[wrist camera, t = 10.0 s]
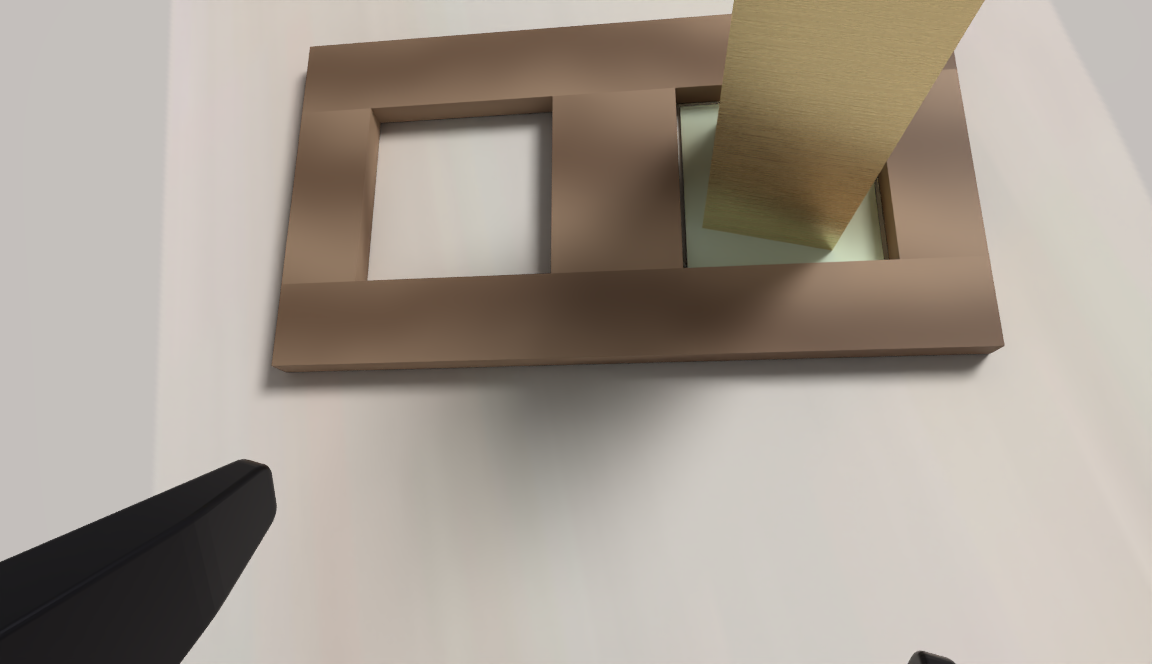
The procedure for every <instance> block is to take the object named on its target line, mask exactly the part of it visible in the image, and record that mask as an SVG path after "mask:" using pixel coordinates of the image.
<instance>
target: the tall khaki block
mask: <svg viewBox="0 0 1152 664" xmlns="http://www.w3.org/2000/svg"><path fill="white" fill-rule="evenodd" d="M983 2H984V0H734V4H733V11H732V18H731V25H730V33H729V40H728V47H727V54H726V61H725V68H724V75H723V82H722V90H721V97H720V104H719V111H718V118H717V125H716V132H715V140H714V147H713V154H712V161H711V168H710V175H709V182H708V190H707V197H706V204H705V211H704V218H703V225H702V228H705V229H711V230H717V231H723V232H728V233H734V234H740V235H746V236H752V237H757V238H763V239H769V240H775V241H781V242H786V243H792V244H798V245H804V246H810V247H815V248H821V249H827V250H833V249H834V247H835V245H836V244H837V242H838V240H839V239H840V237H841V235H842V234H843V232H844V231H845V229H846V227H847V226H848V224H849V222H850V221H851V219H852V217H853V216H854V214H855V212H856V211H857V209H858V208H859V206H860V204H861V203H862V201H863V199H864V198H865V196H866V194H867V193H868V191H869V189H870V188H871V186H872V184H873V183H874V181H875V180H876V178H877V176H878V175H879V173H880V171H881V170H882V168H883V166H884V165H885V163H886V161H887V160H888V158H889V157H890V155H891V153H892V152H893V150H894V148H895V147H896V145H897V143H898V142H899V140H900V138H901V137H902V135H903V134H904V132H905V130H906V129H907V127H908V125H909V124H910V122H911V120H912V119H913V117H914V115H915V114H916V112H917V111H918V109H919V107H920V106H921V104H922V102H923V101H924V99H925V97H926V96H927V94H928V92H929V91H930V89H931V88H932V86H933V84H934V83H935V81H936V79H937V78H938V76H939V74H940V73H941V71H942V69H943V68H944V66H945V64H946V63H947V61H948V60H949V58H950V56H951V55H952V53H953V51H954V50H955V48H956V46H957V45H958V43H959V41H960V40H961V38H962V37H963V35H964V33H965V32H966V30H967V28H968V27H969V25H970V23H971V22H972V20H973V18H974V17H975V15H976V14H977V12H978V10H979V9H980V7H981V5H982V4H983Z"/></svg>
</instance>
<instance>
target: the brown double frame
mask: <svg viewBox="0 0 1152 664" xmlns="http://www.w3.org/2000/svg"><path fill="white" fill-rule="evenodd" d="M731 18H732V14H725V15H712V16H700V17H687V18H674V19H661V20H648V21H635V22H622V23H610V24H597V25H584V26H571V27H558V28H545V29H532V30H520V31H507V32H494V33H481V34H468V35H455V36H443V37H430V38H417V39H404V40H391V41H378V42H365V43H353V44H340V45H327V46H314V47H310V52H309V61H308V69H307V77H306V85H305V94H304V102H303V110H302V118H301V127H300V135H299V143H298V152H297V160H296V168H295V176H294V185H293V193H292V201H291V209H290V218H289V226H288V234H287V242H286V251H285V259H284V267H283V275H282V284H281V292H280V300H279V308H278V317H277V325H276V333H275V342H274V350H273V358H272V366H273V367H275V368H278V369H280V370H282V371H285V372H311V371H349V370H387V369H425V368H463V367H501V366H539V365H577V364H615V363H653V362H691V361H729V360H767V359H805V358H843V357H881V356H919V355H957V354H990V353H992V352H994V351H996V350H998V349H1000V348H1001V347H1003V346H1005V345H1004V340H1003V334H1002V328H1001V322H1000V316H999V311H998V305H997V299H996V293H995V287H994V282H993V276H992V270H991V264H990V258H989V253H988V247H987V241H986V235H985V229H984V224H983V218H982V212H981V206H980V200H979V195H978V189H977V183H976V177H975V171H974V166H973V160H972V154H971V148H970V142H969V137H968V131H967V125H966V119H965V113H964V108H963V102H962V96H961V90H960V84H959V79H958V73H957V67H956V61H955V55H954V51H953V53H952V55H951V56H950V58H949V60H948V61H947V63H946V64H945V66H944V68H943V69H942V71H941V73H940V74H939V76H938V78H937V79H936V81H935V83H934V84H933V86H932V88H931V89H930V91H929V92H928V94H927V96H926V97H925V99H924V101H923V102H922V104H921V106H920V107H919V109H918V111H917V112H916V114H915V115H914V117H913V119H912V120H911V122H910V124H909V125H908V127H907V129H906V130H905V132H904V134H903V135H902V137H901V138H900V140H899V142H898V143H897V145H896V147H895V148H894V150H893V152H892V153H891V155H890V157H889V158H888V160H887V161H886V163H885V165H884V166H883V168H882V170H881V171H880V173H879V175H878V179H879V187H880V194H881V202H882V210H883V217H884V225H885V233H886V240H887V248H888V256H889V260H884V256H883V249H882V241H881V233H880V225H879V217H878V210H877V202H876V194H875V186H874V183H873V184H872V186H871V188H870V189H869V191H868V193H867V194H866V196H865V198H864V199H863V201H862V203H861V204H860V206H859V208H858V209H857V211H856V212H855V214H854V216H853V217H852V219H851V221H850V222H849V224H848V226H847V227H846V229H845V231H844V232H843V234H842V235H841V237H840V239H839V240H838V242H837V244H836V245H835V247H834V249H833V250H827V249H821V248H815V247H810V246H804V245H798V244H792V243H786V242H781V241H775V240H769V239H763V238H757V237H752V236H746V235H740V234H734V233H728V232H723V231H717V230H711V229H705V228H702V225H703V218H704V211H705V204H706V197H707V190H708V182H709V175H710V168H711V161H712V154H713V147H714V140H715V132H716V125H717V118H718V111H719V104H713V105H697V106H682V107H680V117H681V138H682V160H683V181H684V203H685V224H686V246H687V267H688V268H683V253H682V231H681V208H680V186H679V164H678V141H677V119H676V104H680V103H695V102H710V101H720V97H721V90H722V82H723V75H724V68H725V61H726V54H727V47H728V40H729V33H730V25H731ZM541 112H552V210H551V273H547V274H522V275H498V276H473V277H448V278H423V279H398V280H374V281H367V276H368V265H369V253H370V241H371V230H372V218H373V207H374V195H375V183H376V172H377V160H378V148H379V137H380V125H381V123H387V122H403V121H418V120H433V119H449V118H464V117H480V116H495V115H510V114H526V113H541Z"/></svg>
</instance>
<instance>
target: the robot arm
mask: <svg viewBox="0 0 1152 664" xmlns="http://www.w3.org/2000/svg"><path fill="white" fill-rule="evenodd" d="M276 508H277V504H276V497H275V491H274V484H273V478H272V472H271V470H270V468H269V467H268V466H267V465H265V464H261V463H258V462H254V461H251V460H247V459H241V460H238V461H235V462H232V463H230V464H228V465H225V466H223V467H221V468H218V469H216V470H214V471H211V472H209V473H207V474H204V475H202V476H200V477H197V478H195V479H193V480H190V481H188V482H186V483H183V484H181V485H179V486H176V487H174V488H172V489H169V490H167V491H165V492H162V493H160V494H158V495H155V496H153V497H151V498H148V499H146V500H144V501H142V502H139V503H137V504H134V505H132V506H130V507H128V508H125V509H123V510H121V511H118V512H116V513H114V514H111V515H109V516H106V517H104V518H102V519H99V520H97V521H95V522H93V523H90V524H88V525H86V526H83V527H81V528H78V529H76V530H74V531H71V532H69V533H67V534H65V535H62V536H60V537H57V538H55V539H53V540H50V541H48V542H46V543H43V544H41V545H39V546H36V547H34V548H32V549H30V550H27V551H25V552H22V553H20V554H18V555H16V556H13V557H11V558H8V559H6V560H4V561H1V562H0V664H180V663H181V661H182V660H183V659H184V657H185V656H186V655H187V653H188V652H189V651H190V649H191V648H192V647H193V645H194V644H195V643H196V641H197V640H198V639H199V637H200V636H201V635H202V633H203V632H204V631H205V629H206V628H207V627H208V625H209V624H210V622H211V621H212V620H213V618H214V617H215V615H216V614H217V612H218V611H219V609H220V608H221V606H222V605H223V603H224V602H225V600H226V598H227V597H228V595H229V593H230V592H231V590H232V589H233V587H234V585H235V584H236V582H237V580H238V579H239V577H240V575H241V574H242V572H243V570H244V569H245V567H246V565H247V564H248V562H249V560H250V559H251V557H252V555H253V554H254V552H255V551H256V549H257V547H258V546H259V544H260V542H261V541H262V539H263V537H264V536H265V534H266V532H267V531H268V529H269V527H270V526H271V524H272V522H273V520H274V517H275V514H276ZM908 664H955V663H954V662H953V661H952V660H950V659H948V658H946V657H943V656H939V655H936V654H932V653H928V652H925V651H917V652H915V653H914V654H913V655H912V657H911V658H910V660H909V662H908Z"/></svg>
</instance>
